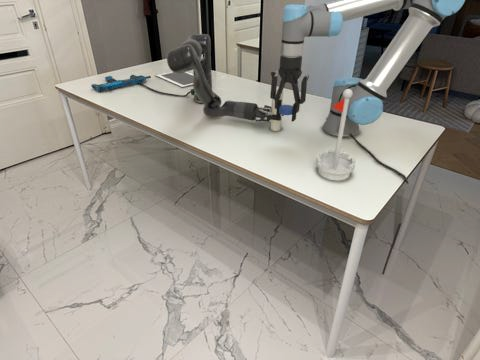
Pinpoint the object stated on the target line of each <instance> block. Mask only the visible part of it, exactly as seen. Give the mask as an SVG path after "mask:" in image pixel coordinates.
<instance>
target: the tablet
mask: <svg viewBox="0 0 480 360" xmlns="http://www.w3.org/2000/svg"><path fill="white" fill-rule="evenodd" d="M155 77H157V78H159V79H162V80H164V81H165V82H166V81H167V82H168V83H171V84H174V85H175V86H178V87H181V88H187V87H191V86H193V82H194V74H193V72H190V71H187V72H184V73H181V74H176V73H174V72H172V71H168V72H164V73H160V74H155Z"/></svg>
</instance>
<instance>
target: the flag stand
mask: <svg viewBox="0 0 480 360" xmlns="http://www.w3.org/2000/svg"><path fill="white" fill-rule="evenodd" d="M352 95H353V92H352V90H350V89H346V90H344V92H343V97H344V99H343V100H342V101H340V102H339V103H337V104H336V105H334V106H333V107H332V108H334V109H337V110H339V111H341V112H342V115H341V121H340V127H339V133H338V137H336V138H337V139H336V145H335V149H329V150H328V152H325V151H320V152H319V153H318V156H317V157H316V160H315V164H316V167H317V169H318V170H317V172H318V174H319V175H320V176H321V177H323V178H324V179H327V180H330V181H344V180H346V179H349V178H350V177H351V176H350V175H351V173H352V172H353V171H354V170H355V167H356V159H355V157H354V156H353V157H350V153H348V152H345V151H342V152H341V149H342V148H341V147H342V142H343V138H342V137H343V131H344V126H345V120H346V115H347V109H348V104H349V98H351V97H352ZM340 152H341V153H340Z"/></svg>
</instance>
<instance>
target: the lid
mask: <svg viewBox="0 0 480 360" xmlns="http://www.w3.org/2000/svg"><path fill="white" fill-rule="evenodd" d="M292 111H293V105H291V104H283V105H281V106H280V107H279V113H280V114H282V115H284V116H292Z"/></svg>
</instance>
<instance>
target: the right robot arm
mask: <svg viewBox="0 0 480 360" xmlns="http://www.w3.org/2000/svg"><path fill="white" fill-rule="evenodd" d="M464 3H466V0H333V1H329V2H325V3H322V4H318V5H306V4H296V3H295V4H293V3H291V4H287V5H285V7H284V8H283V13H282V14H283V15H282V26H281V27H282V28H281V43H280V56H279V68H278V69H277V70H275V69H274V70H272V71H271V72H270V75H271V84H270V96H269V97H270V99H271V100H272V99H274V100H275V109H277V111H276V118H279V117H280V116H281V114H280V113H279V107H280V106H281V103H282V100H279V99H280V97H281V94H282V91H283V92H284V89H285V86H286V84H287V83H288V84H291V85H290V86H291V87H292V93H293V97H294V98H293V99H294V103H292V106H293V111H292V115H291V122H295V121H296V119H297V114H298V113H299V112H300V108H301V105H303V104H304V103H306V101H307V99H306V98H307V88H308V87H307V86H308V85H307V84H308V80H309V78H310V75H309V74H304V73H303V71H302V65H303V64H302V62H303V56H302V55H304V53H303V52H304V44H305V38H308V37H309V38H310V37H327V38H330V37H337V36H339V35H340V34H341V31H342V29H343V25H344V24H343V23H344V22H347V21H351V20H355V19H358V18H363V17H366V16H371V15H374V14H377V13H378V14H379V13H381V12H385V11H389V10H394V11H395V12H396V11H401V10H408V13H409V14H408V17H407V18H406V20H405V21H404V22H403V24H402V25H401V27H400V28H399V29H398V31H397V32H396V34H395V35H394V37H393V38H392V40H391V42H389V44H388V46H387V47H386V48H385V50H384V51H383V53H382V55H381V56H380V58H379V59H378V61H377V62H376V63H375V65H374V66H373V68H372V69H371V70H370V72H369V73H368V75H367V77H366V78H365V79H363V78H360V77H353V76H350V77H349V76H343V77H338V78H336V79H335V80H334V82H333V86H332V93H331V99H330V100H331V101H330V107H329V112H328V115H327V117H326V118H325V121H324V123H323V126H322V130H323V132H324V133H325V134H326V135H329V136H332V137H335V138H338V133H339V127H340V121H341V115H342V112H341V111H339V110H337V109H334V108H332V107H333V106H334V105H336V104H337V103H339V102H340V101H342V100H343V99H344V97H343V92H344V90H346V89H350V90H352V92H353V95H352V97H351V98H349V104H348V109H347V115H346V120H345V126H344V131H343V137H342V139H349V138H352V139H353V140H354V142H355V143H356V144H357V145H358V146H359V147H361V148H362V149H363V150H364V151H366V153H367V154H369V155H370V156H371V157H372V159H374V161H375V162H377V163H378V164H379V165H381V166H383V167H385V168H386V169H389V170H391V171H393V172H394V173H396V174H397V175H398V176H401V177H402V178H403V179H404V182H405V184H407V185H409V180H408V178H407V176H406V175H405V174H403V173H401V172H400V171H399V170H397V169H396V168H393V167H391V166H389V165H387V164H385V163H383V162H382V161H381V160H379V159H378V158H377V157H376V156H375V155H374V154H373V153H372V152H371V151H370V150H369V149H368V148H366V147H365V146H364V145H363V144H362V143H360V141H358V140H357V138H356V136H357V135H359V132H360V126H366V125H370V124H374V123H375V122H377V120H379V118H380V117H381V116H382V114H383V111H384V104H383V103H384V102H385V100H387V97H388V96H387V90H388V89H389V88H390V86H391V85H392V83H393V82H394V81H395V80H396V78H397V77H398V75H399V74H400V72H401V71H402V70H403V68H404V67H405V65H406V64H407V63H408V61H409V60H410V59H411V57H412V56H413V55H414V53H415V52H416V50H417V49H418V47H419V46H420V45H421V43H422V42H423V40H424V39H425V38H426V37H427V35H428V34H429V32H430V31H431V30H432V28H435V27H439V26H440V25H441V24H442V23H443V21H444V19H445V18H446V17H448V16H452V15H454V14H456V13H458V11H459V10H460V9H461V8H462V7H463V5H464ZM278 76H279V77H280V81H279V85H278V79H279V78H278ZM299 78H300V81H301V85H300V91H299V81H298V80H299ZM277 87H279V88H278V91H277V94H276V88H277ZM401 226H402V222H400V223H398V224H397V228H396V231H395V233H394V237H393V240H392V243H391V246H390V248H389V251H388V255H387V257H386V260H385V263H384V266H383V269H382V272H381V275H383V276H384V275H385V273H386V270H387V266H388V263H389V260H390V257H391V254H392V252H393V249H394V246H395V243H396V240H397V237H398V235H399V232H400V229H401Z"/></svg>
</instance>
